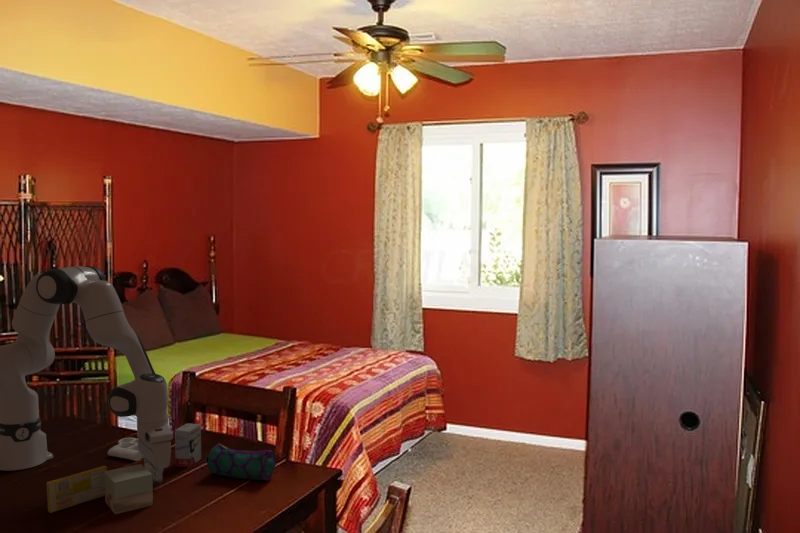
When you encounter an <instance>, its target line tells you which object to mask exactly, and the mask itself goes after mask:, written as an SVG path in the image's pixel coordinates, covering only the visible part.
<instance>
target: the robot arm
mask: <svg viewBox="0 0 800 533" xmlns="http://www.w3.org/2000/svg"><path fill="white" fill-rule="evenodd" d="M73 303H75V304H77V305H78V306H79V307H80V308H81V311H82V314H83V317H84V321H85V325H86V329H87V331H88V332H87V333H88V334H89V336H90V337H91V339H92V340H93V342H95V343H97V344H99V345H101V346H103V347H107V348H111V349H115V350H117V351H119V352H121V353H122V354H123V355H124V357H125V358H126V360H127V363H128V365H129V367H130V370H131V372H132V375H133V377H134V380H131V381H129V382H125V383H122V384H120V385H118V386H115V387H113V388H112V389H111V390H110V392H109V393H108V396H107V397H108V398H107V404H108V405H107V406H108V408H109V410H110V412H111V413H112V414H113V415H115V416H117V417H119V418H125V417H132V416H135V417H136V436H137V438H138V450H139V452H140V453H141V454H142V455H143V461H144V463H145V462H146V461H150V462H151V463H152V464H153V465H154V466H155V469H156V471H155V479H156V480H160V479H162V477H163V472H164V469H165V468H168V467H170V463H171V455H172V454H171V453H172V444H171V441H172V440H173V432H172V430H171V428H170V424H169V415H168V414H169V413H168V411H167V410H168V406H169V392H168V391H169V390H168V386H167V385H168V384H167V380H166V379H165V377H164V376H162V375H160V374H158V373H156V371H155V370H154V368H153V365H152V363H151V360H150V358H149V356H148V353H147V351H146V348H145V347H144V345H143V342H142V340H141V338H140V336H139V334H138V333H137V332H136V330H134V329H133V328H132V327H131V325H130V324H129V322H128V320H127V317H126V315H125V311H124V308H123V304H122V303H121V300H120V297H119V295H118V293H117V291H116V288H115V287H114V285H113V284H112V283H111V282H110V281H107V279H106V274H104V271H102V270H101V269H100V268H98V267H95V266H91V265H84V266H81V265H70V266H67V267H66V266H65V267H61V268H60V267H59V268H51V269H47V270H45V271H43V272H40V273H37V274H35V275H33V276H32V278H31V279H30V281H29V282H28V284H27V285H26V288H25V289H24V290H23V292H22V294H21V297H20V299H19V302H18V304H17V307H16V309H15V311H14V316H13V318H12V320H11V327H12V328H13V330H14V331H15V332H16V333H17V337H16V339H15V341H14V342H12V343H8V344H3V345H0V471H19V470H20V471H21V470H26V469H30V468H33V467H37V466H39V465H41V464H43V463H45V462H47V461H48V460H51V459H53V458H54V454H53V453H52V452H51V451H48V442H47V433H45V432H44V431H42V430H41V427H42V426H41V424H42V421H41V417H40V416H39V414H40V413H39V412H40V411H39V410H40V409H39V395H38V393H37V391H36V390H34V389H32V388H30V387H29V386H28V385H27V381H26V376H28V375H32V374H35V373H40V372H41V371H43V370H45V369H47V368H49V367H50V366H51V365H52V364H53V363H54V361H55V358H56V353H55V348H54V346H53V345H52V343H51V342H50V332H51V329H52V327H53V323H54V321H55V319H56V315H57V313H58V311H59V308H60V305H71V304H73Z"/></svg>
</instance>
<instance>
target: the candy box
mask: <svg viewBox="0 0 800 533" xmlns="http://www.w3.org/2000/svg"><path fill="white" fill-rule="evenodd" d="M104 471H108V466H106V465H102V466H99V467H95V468H92V469H88V470H85V471H81V472H77V473H75V474H74V473H73V474H70V475H66V476H65V477H60V478H56V479H54V480H49V481H47V482H46V496H47V498H46V499H47V512H48V513H50V514H52V513H55V512H57V511H62V510H64V509H68V508H71V507H74V506H77V505H80V504H83V503H86V502H89V501H92V500H97V499H99V498H102V497H105V487H104Z"/></svg>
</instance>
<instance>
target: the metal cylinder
mask: <svg viewBox="0 0 800 533" xmlns="http://www.w3.org/2000/svg"><path fill="white" fill-rule="evenodd" d="M144 467H145V468H146V469H147V470H148V471H149V472H151V473H152V480H153V486H156V485H160V484H162V483H163V480H164V479H163V476H162V479H160V480H156V479H155V471H156V469H155V466H154V465H153V464H152V463H151V462H150V461H146V462H144Z"/></svg>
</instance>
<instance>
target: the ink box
mask: <svg viewBox="0 0 800 533" xmlns="http://www.w3.org/2000/svg"><path fill="white" fill-rule="evenodd" d="M201 427H202V426H201V424H199V423H197V424H196V423H191V422H190V423H185V424H184V425H181V426H180V427H177V428H176V429H175V431H174V432H175V433H174V436H175V437H174V441H175V443H174V445H175V449H174V450H175V451H174V452H175V455H174V456H175V467H178V468H179V467H181V468H190V467H192V466H193V465H195V464H196V463H197V462H199V461H200V460H201V459H202V434H201V433H202V428H201Z"/></svg>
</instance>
